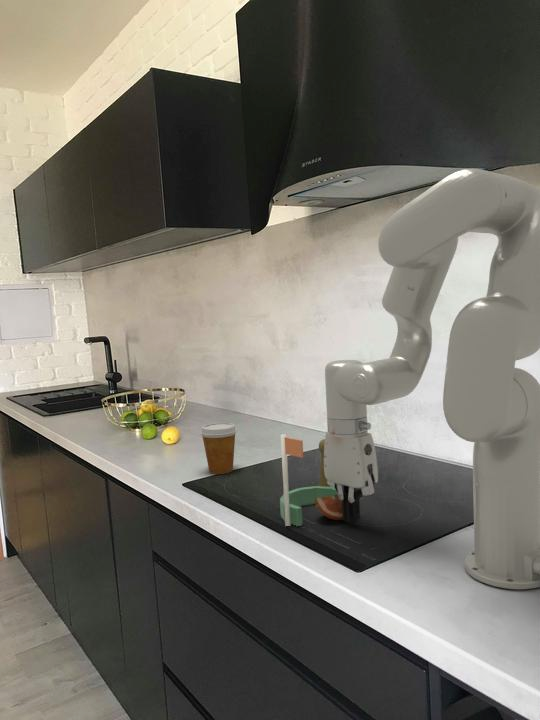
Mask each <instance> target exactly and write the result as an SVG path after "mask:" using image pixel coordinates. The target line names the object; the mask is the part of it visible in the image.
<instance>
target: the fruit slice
mask: <svg viewBox="0 0 540 720" xmlns="http://www.w3.org/2000/svg"><path fill="white" fill-rule="evenodd" d="M314 505H315V507H316V508H317V510H318V511H319V513H320V514H322V515H323V516H325V517H326V518H328V519H331V520H335V521H341V520H342V521H343V513H342V500H340V499H339V495H338V494H336V495H335V494H334V496H332V497H331V496H328V497H320V498H316V499H315V504H314Z"/></svg>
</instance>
